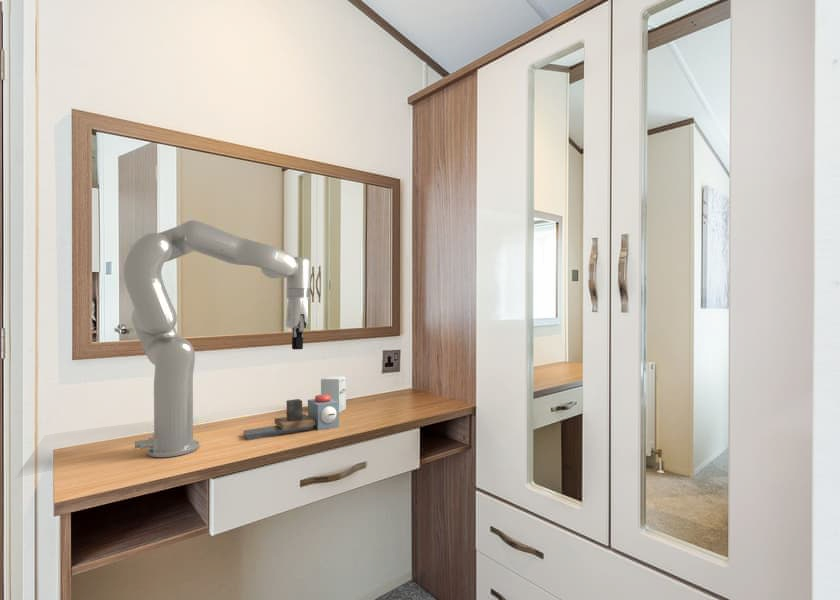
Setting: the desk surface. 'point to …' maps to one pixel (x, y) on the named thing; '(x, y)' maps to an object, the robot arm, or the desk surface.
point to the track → (271, 432)
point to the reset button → (322, 398)
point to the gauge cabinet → (324, 414)
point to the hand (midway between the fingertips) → (297, 349)
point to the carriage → (294, 416)
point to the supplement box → (335, 389)
